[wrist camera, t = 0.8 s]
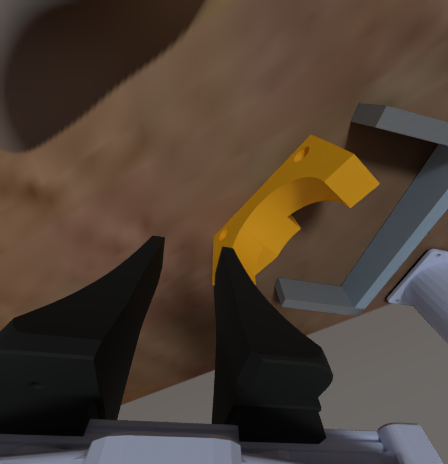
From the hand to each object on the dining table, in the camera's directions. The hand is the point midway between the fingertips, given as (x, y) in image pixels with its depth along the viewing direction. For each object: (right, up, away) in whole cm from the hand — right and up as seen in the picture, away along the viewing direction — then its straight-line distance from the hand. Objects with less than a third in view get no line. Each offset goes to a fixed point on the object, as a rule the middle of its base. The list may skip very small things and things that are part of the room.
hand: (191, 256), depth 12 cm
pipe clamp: (+6, +4, +8) cm, 11 cm away
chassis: (+13, +2, +9) cm, 16 cm away
